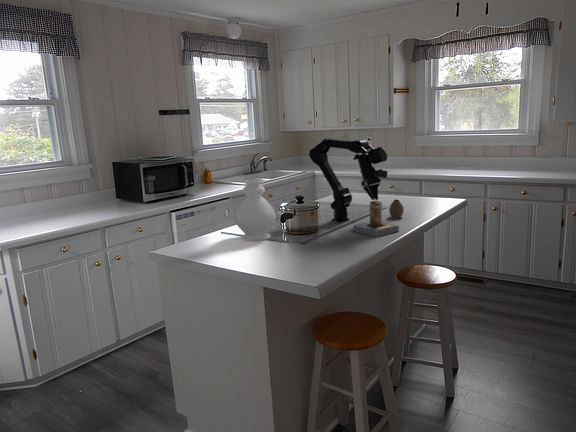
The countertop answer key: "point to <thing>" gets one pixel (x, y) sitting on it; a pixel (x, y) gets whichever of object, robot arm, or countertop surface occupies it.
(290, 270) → the countertop surface
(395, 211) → the vase
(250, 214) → the decorative vase
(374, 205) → the walnut peg
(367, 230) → the socket block
